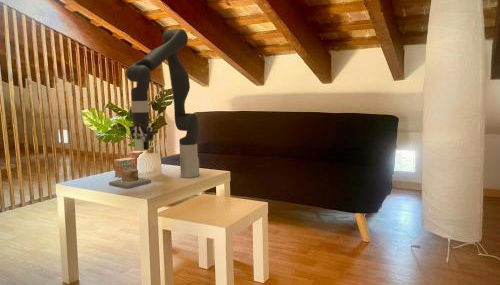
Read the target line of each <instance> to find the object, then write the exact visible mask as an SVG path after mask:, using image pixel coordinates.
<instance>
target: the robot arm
mask: <svg viewBox="0 0 500 285" xmlns="http://www.w3.org/2000/svg"><path fill="white" fill-rule="evenodd" d="M188 40H189V36H188V34H187V32H186V31H185V30H184V29H181V28H173V29H172V28H171V29H166V30H164V32H163V35H162V42H163V44H162V45H160V46H158V47H156V48H154V49H153V50H150V51H149V52H148V53H147V54H146V55H144V56H143V58H142V59H140V60H138V61H136V62H135V63H134V62H133V63H132V64H131V65H130V66H129V67H127V69H126V74H125V75H126V78H127V79H128V81H129V82H133V83H136V86H135V87H133V88H132V89H131V91H130V92H131V93H130V96H131V121H132V122H133V125H130V126H129V131H130V136H131V140H134V141H135V139H140V138H143V141H144V150H148V149H149V144H150V141H151V140H153V135H154V129H155V128H154V126H150V125H149V122H150V120H151V119H150V105H149V101H148V100H149V93H148V92H149V87H150V82H151V75H152V74H151V72H154V71H155V70H156V69H157V68H158V67H159V66H160V65H161V64H162V63H163V62H165V61H166V60H167V67H168V71H169V79H170V80H169V81H170V85H171V86H170V87H171V92H172V98H173V106H174V107H173V108H174V109H173V110H174V112H173V113H174V123H175V127H176V129H177V130H178V131H183V132H184V131H185V132H186V134H185V136H183V137H180V138H179V142H178V143H179V163H180V166H179V167H180V168H179V169H180V178H184V179H186V178H187V179H188V178H190V179H191V178H197V177H198V176H200V158H199V157H198V155H199V154H198V140H199V119H198V118H199V117H198V116H197V114H196V113H191V112H189V113H188V112H186V108H185V107H186V106H185V103H186V100H187V97H188V96H189V92H190V89H191V86H190V76H189V73H188V71H187V69H186V68H185V67H184V65H183V64H182V62H181V61H180V58H179V55H178V51H180V50H182V49H183V48H184V47H186V46H187V44H188Z"/></svg>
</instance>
